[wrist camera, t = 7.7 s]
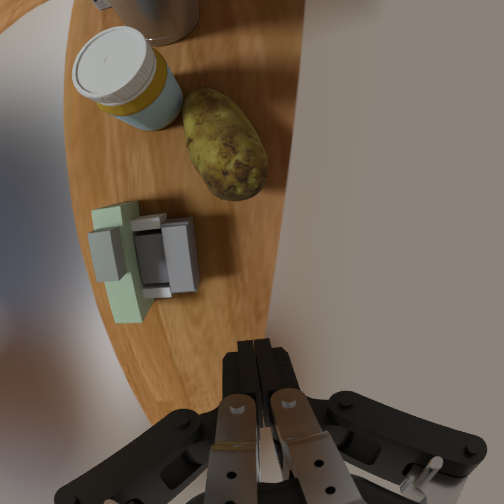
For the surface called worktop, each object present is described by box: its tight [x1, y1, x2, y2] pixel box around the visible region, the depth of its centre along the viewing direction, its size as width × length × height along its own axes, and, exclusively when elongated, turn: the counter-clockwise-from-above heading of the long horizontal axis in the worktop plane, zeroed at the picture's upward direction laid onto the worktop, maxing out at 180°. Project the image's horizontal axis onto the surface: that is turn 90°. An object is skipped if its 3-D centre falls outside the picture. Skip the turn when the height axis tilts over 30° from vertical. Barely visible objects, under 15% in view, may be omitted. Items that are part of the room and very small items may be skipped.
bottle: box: [72, 26, 183, 131], centre depth 21 cm, size 7×7×15 cm
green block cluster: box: [88, 201, 173, 323], centre depth 29 cm, size 13×7×8 cm, turn 4°
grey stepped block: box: [134, 216, 200, 293], centre depth 31 cm, size 8×6×4 cm
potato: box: [182, 87, 268, 201], centre depth 26 cm, size 8×13×8 cm, turn 6°
